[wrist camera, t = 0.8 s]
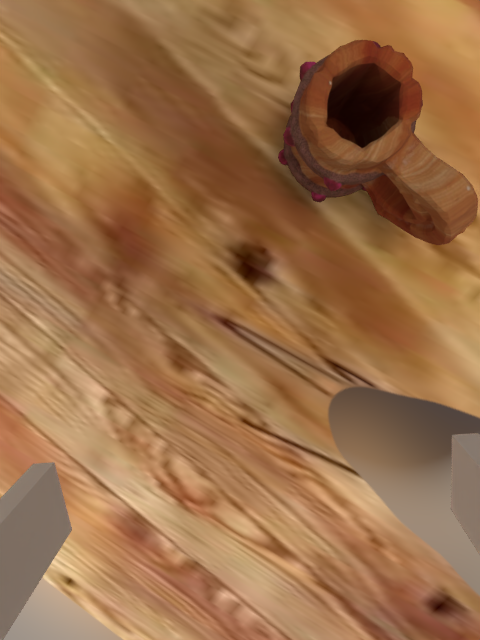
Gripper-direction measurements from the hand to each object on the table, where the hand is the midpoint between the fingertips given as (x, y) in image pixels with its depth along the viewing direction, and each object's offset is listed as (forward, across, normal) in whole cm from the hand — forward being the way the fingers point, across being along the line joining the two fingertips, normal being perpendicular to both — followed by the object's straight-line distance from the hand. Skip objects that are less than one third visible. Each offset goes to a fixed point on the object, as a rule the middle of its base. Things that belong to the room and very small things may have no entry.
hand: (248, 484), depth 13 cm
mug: (+27, +9, +12) cm, 31 cm away
